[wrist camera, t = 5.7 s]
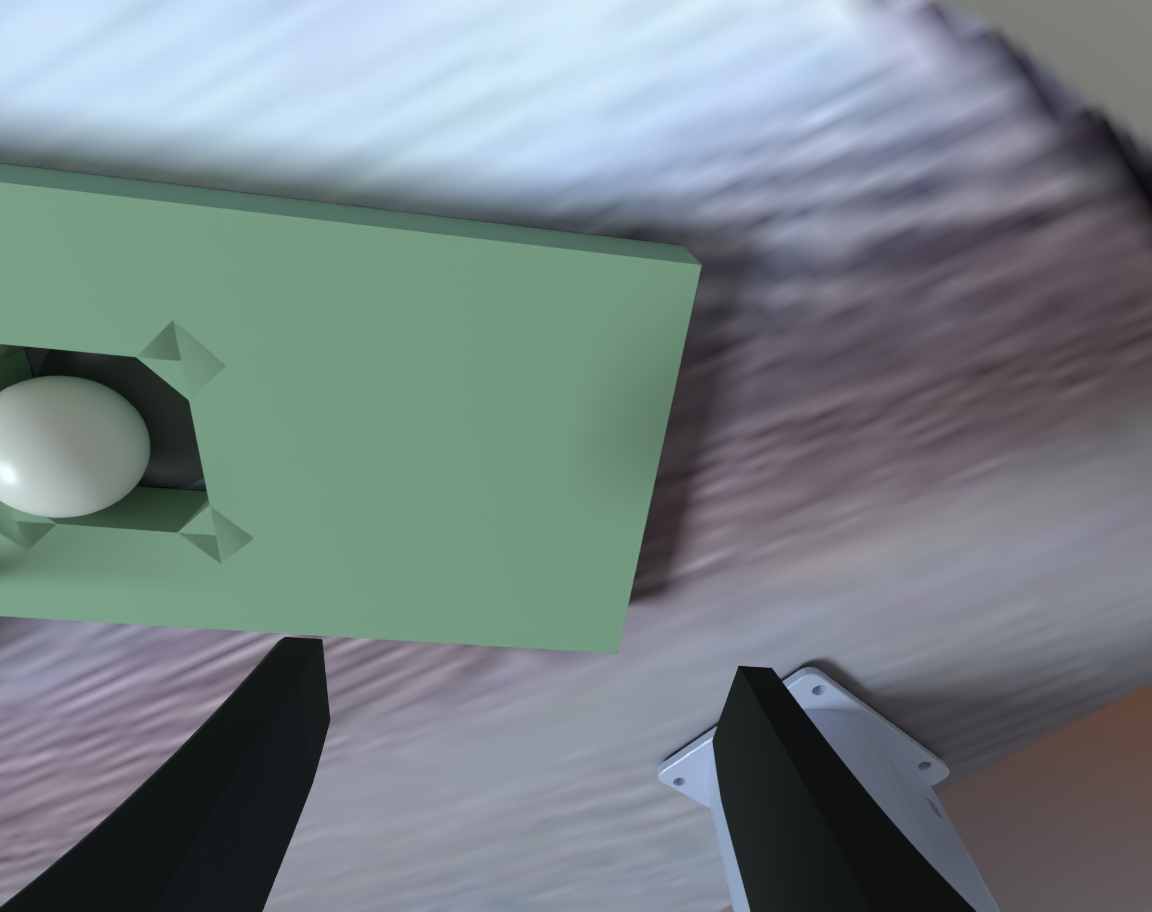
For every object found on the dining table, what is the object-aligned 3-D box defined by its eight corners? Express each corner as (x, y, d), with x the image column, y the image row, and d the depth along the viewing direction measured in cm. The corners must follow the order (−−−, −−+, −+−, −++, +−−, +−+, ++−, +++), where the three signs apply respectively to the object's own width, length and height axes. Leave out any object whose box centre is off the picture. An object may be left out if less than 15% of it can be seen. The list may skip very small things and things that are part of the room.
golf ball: (53, 390, 17) (185, 399, 18) (31, 517, 17) (167, 524, 17) (-61, 352, 14) (105, 363, 14) (-93, 509, 14) (79, 518, 14)
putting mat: (685, 245, 16) (818, 399, 8) (612, 608, 21) (647, 902, 14) (-288, 128, 14) (-1405, 176, 6) (-74, 562, 20) (-491, 874, 12)
